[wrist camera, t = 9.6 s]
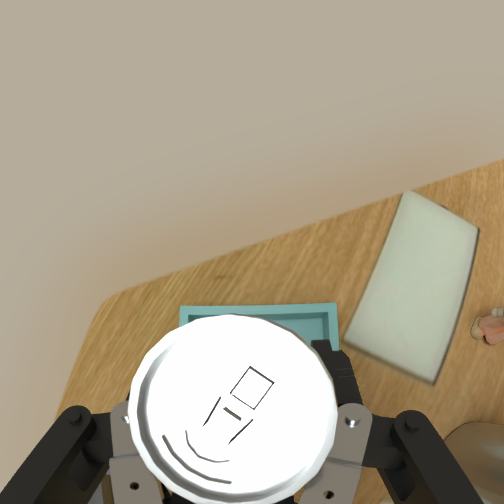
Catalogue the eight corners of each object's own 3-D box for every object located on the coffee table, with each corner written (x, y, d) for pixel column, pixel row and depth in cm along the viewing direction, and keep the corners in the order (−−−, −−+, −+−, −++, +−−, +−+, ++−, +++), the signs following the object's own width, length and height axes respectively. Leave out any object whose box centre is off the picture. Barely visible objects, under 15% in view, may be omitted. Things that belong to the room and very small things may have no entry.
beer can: (241, 330, 19) (205, 262, 8) (316, 379, 18) (390, 383, 7) (189, 400, 18) (83, 424, 6) (263, 450, 16) (256, 550, 5)
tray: (328, 311, 31) (336, 302, 28) (332, 446, 26) (340, 456, 23) (190, 314, 32) (180, 305, 28) (189, 447, 27) (178, 456, 23)
